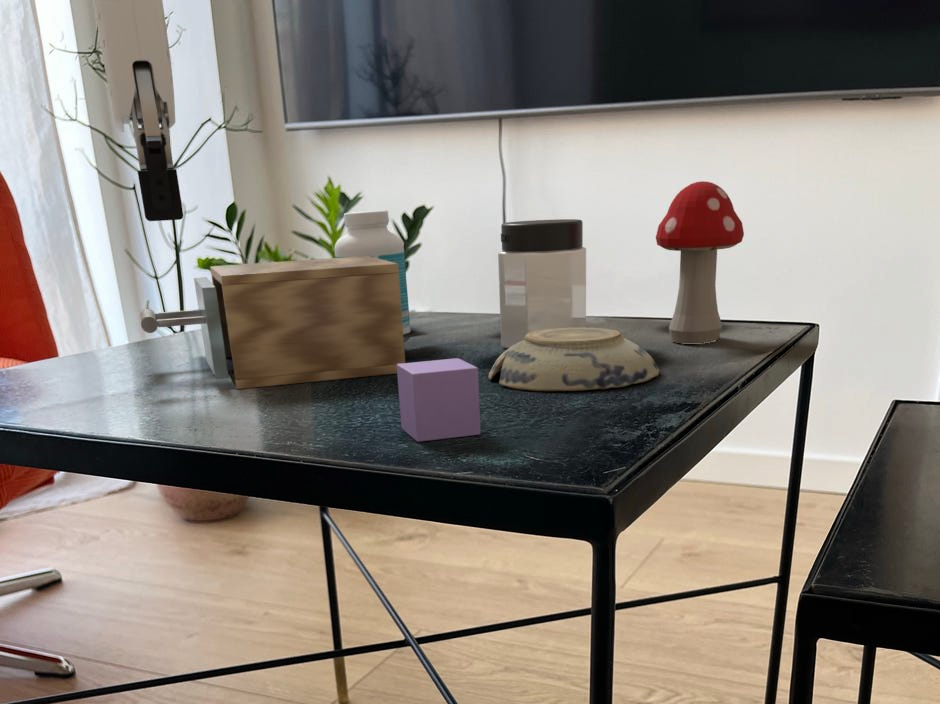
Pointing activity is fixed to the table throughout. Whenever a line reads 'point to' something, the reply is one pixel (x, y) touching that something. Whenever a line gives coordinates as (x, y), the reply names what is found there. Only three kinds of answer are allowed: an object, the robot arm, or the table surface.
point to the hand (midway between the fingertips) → (164, 219)
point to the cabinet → (310, 320)
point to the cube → (439, 399)
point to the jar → (541, 277)
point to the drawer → (204, 316)
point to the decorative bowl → (574, 361)
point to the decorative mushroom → (698, 256)
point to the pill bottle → (375, 248)
